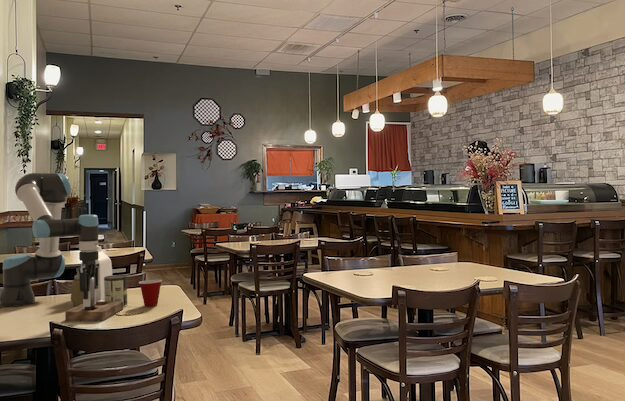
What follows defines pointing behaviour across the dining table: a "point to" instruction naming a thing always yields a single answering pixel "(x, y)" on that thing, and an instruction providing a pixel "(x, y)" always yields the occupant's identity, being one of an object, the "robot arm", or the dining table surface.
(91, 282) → the peg
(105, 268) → the milk
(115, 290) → the coffee can
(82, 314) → the hole block
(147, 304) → the plastic cup
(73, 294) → the squeeze bottle
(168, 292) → the dining table surface
